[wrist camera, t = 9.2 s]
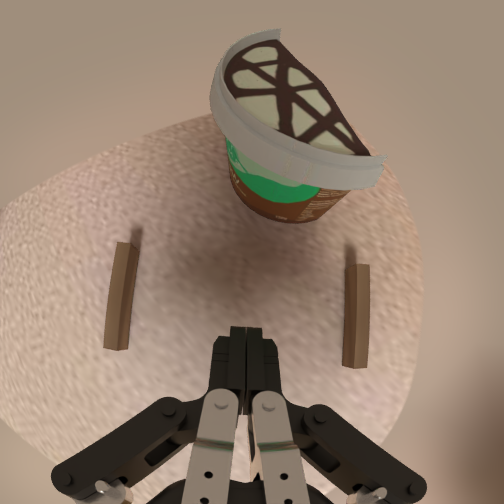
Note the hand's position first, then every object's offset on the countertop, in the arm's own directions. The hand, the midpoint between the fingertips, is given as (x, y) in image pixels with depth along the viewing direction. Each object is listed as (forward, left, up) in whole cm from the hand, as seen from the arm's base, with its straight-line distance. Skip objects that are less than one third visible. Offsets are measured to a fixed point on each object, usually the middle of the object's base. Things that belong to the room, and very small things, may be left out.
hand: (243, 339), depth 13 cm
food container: (0, +12, -5) cm, 13 cm away
